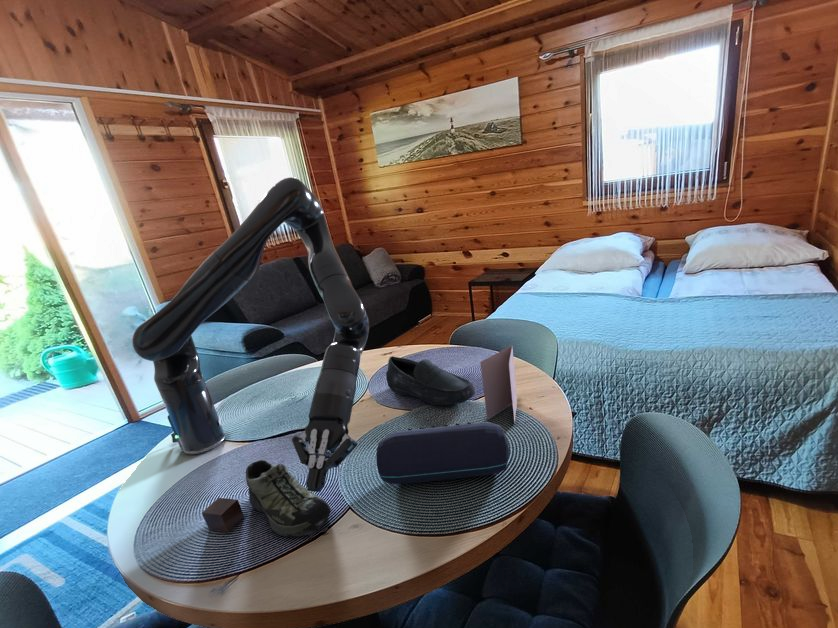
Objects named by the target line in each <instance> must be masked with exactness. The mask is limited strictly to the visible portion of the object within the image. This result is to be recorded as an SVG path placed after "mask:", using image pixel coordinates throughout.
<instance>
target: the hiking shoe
mask: <svg viewBox="0 0 838 628" xmlns="http://www.w3.org/2000/svg"><path fill="white" fill-rule="evenodd" d="M245 482H246V485H247V487H248V495H249V496H248V499H249V503H250V505H251V506H252V508H253V509H255V510H256V511H258V512H261V513H262V512H263V513H264V514H265V515H266V517H267V518H268V523H269V526H270V528H271V529H272V531H273V532H274V533H275V534H277V536H280V537H281V536H282V537H283V536H284V537H287V538H288V537H303V536H307V535H308V536H309V535H312V534H314V533H316V532H318V531H320V530H321V529H322V528H323V527H324V525H325V523H326V522H327V520H328V519H329V516H330V515H331V512H332V510H331V506H330V505H329V504H328V503H327V501H325V499H324V498H323V497H320V496H319V495H317V494H316V493H314V492H313V491H308V490H307V487H306V486H303V485H302V484H301V483H299V481H298V479H296V478H295V477H294V475H293V474H292V473H291V472H290V470H289V468H288V467H287V466H286V465H285V464H283V463H277V464H272V463H270V462H269V461H267V460H265V459H258V460H256V461H254V462H251V463H250V464H249V465H247V467H246V469H245Z"/></svg>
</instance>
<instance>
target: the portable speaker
mask: <svg viewBox="0 0 838 628" xmlns="http://www.w3.org/2000/svg"><path fill="white" fill-rule="evenodd" d="M508 440H509V439H508V437H507V435H506V433H505V431H504V428H503V427H502V425H499V424H497V423H492V422H490V421H483V422H481V421H480V422H474V423H472V422H471V421H469V422H468V421H467V422H466V423H464V424H463V423H462V424H460V423H455V424H453V425H448V424H443V425H442V426H436V425H432V426H431V427H422V426H421V427H419V428H418V429H417V428H415V429H413V428H408V429H406V430H398V431H393V432H391V433H389V434H387V435H386V436H384V437H382V438H381V439H380V441H379V442H378V444H377V447H376V452H375V453H376V454H375V455H376V467H377V472H378V474H379V477H380V479H381V480H382V481H383V482H384V483H386V484H395V485H396V484H397V485H407V484H417V483H418V484H419V483H426V482H436V481H447V480H455V479H456V480H457V479H464V478H474V477H482V476H483V477H484V476H491V475H495V474H499V473H502V472H504V471H506V469H507V467H508V460H509V457H510V447H509V441H508Z"/></svg>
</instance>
